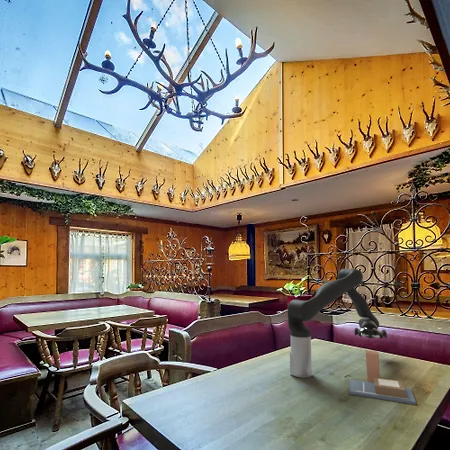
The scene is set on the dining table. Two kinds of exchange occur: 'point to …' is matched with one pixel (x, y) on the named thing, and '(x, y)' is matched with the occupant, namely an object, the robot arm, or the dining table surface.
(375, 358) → the terracotta pillar
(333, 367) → the dining table surface
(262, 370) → the dining table surface
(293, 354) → the robot arm
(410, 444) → the dining table surface
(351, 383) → the blueprint board
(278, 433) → the dining table surface
